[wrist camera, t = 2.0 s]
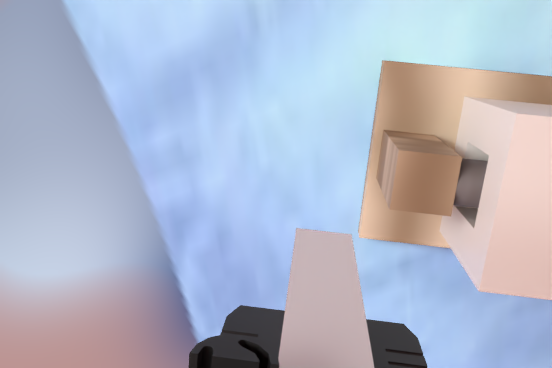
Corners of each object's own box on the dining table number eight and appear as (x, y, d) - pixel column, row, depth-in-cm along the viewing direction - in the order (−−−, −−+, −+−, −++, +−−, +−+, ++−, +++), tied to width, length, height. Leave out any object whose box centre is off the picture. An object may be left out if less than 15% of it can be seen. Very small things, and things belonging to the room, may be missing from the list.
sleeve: (439, 230, 31) (478, 291, 23) (464, 96, 29) (516, 113, 21) (559, 244, 30) (640, 310, 23) (593, 109, 28) (695, 131, 20)
